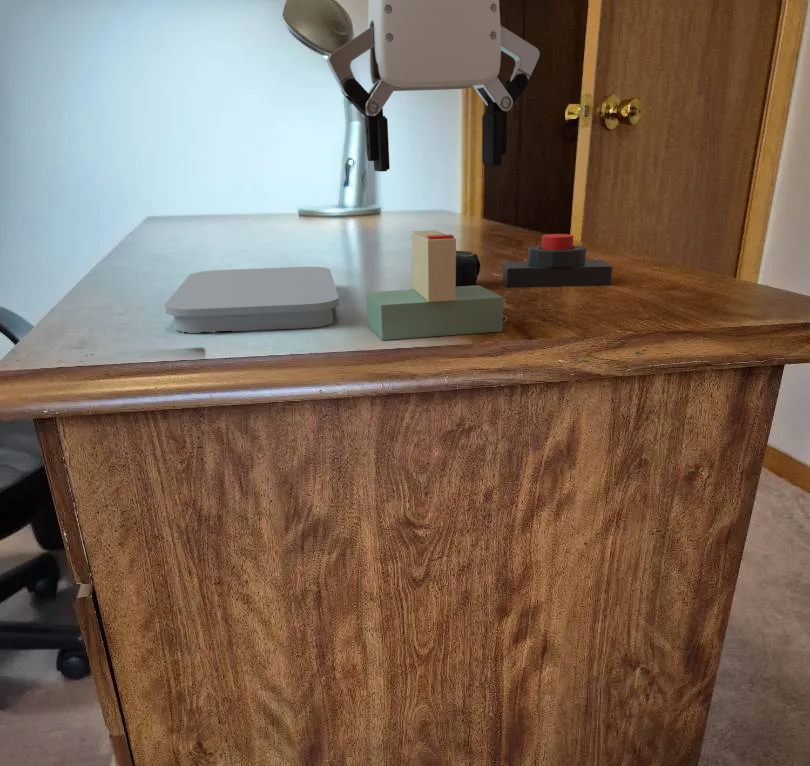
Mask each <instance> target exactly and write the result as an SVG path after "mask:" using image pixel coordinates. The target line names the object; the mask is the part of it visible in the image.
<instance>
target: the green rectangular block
mask: <svg viewBox="0 0 810 766" xmlns="http://www.w3.org/2000/svg"><path fill="white" fill-rule="evenodd" d="M365 301H366V303H365V304H366V322H367V326H368V327H369V328H370V329H371V330H372V331H373V333H375V334H376V336H378V337H379V339H380V340H381V341H390V340H391V341H393V340H403V339H405V340H406V339H417V338H418V339H419V338H432V337H446V336H447V337H448V336H461V335H473V334H487V333H498V332H499V333H501V332H503V323H504V321H503V320H504V296H502V295H499V294H497V293H496V292H494V291H491V290H490V289H487V288H485V287H483V286H482V285H478V284H477V285H459V286H456V300H455V301H438V302H428V301H427V300H426V299H425V298H423V297H422V296H421V295H420V294H419V293H418V292H417V291H415V290H414V289H413V288H412V289H411V288H410V289H397V290H395V289H394V290H381V291H366V292H365Z"/></svg>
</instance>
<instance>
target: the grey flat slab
mask: <svg viewBox="0 0 810 766" xmlns="http://www.w3.org/2000/svg"><path fill="white" fill-rule="evenodd" d="M338 306H340V296H339V293H338V291H337V287H336V284H335V281H334V278H333V274H332V270H331V268H328V267H323V266H291V267H287V266H286V267H268V268H267V267H265V268H264V267H261V268H240V269H239V268H238V269H215V270H214V269H213V270H204V271H196V272H192V273H190V274H189V275H188V276H187V277H186V279H184V280H183V282H182V283H181V284H180V286H179V287H178V288H177V289H176V290H175V292H174V293H173V294H172V295H171V296H170V297H169V299H168V300H167V301H166V302H165V304H164V309H165V313H166V314H167V315H169V316H173V318H174V319H173V320H174V326H175V331H177V330H178V331H177V332H179V331H181V332H180V333H184V332H187V333H186V334H202V333H201V332H210V333H214V332H213V331H232V332H251V331H272V330H293V329H313V328H320V327H326V326H329V325H331V324H333V323H334V314H333V313H334V312H333V309H334V308H336V307H338Z"/></svg>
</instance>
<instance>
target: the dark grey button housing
mask: <svg viewBox="0 0 810 766" xmlns="http://www.w3.org/2000/svg"><path fill="white" fill-rule="evenodd" d="M527 251H528V254H527V255H528V256H527V260H517V261H514V260H512V261H511V260H509V261H503V264H502V265H503V266H502V281H503V284H504V285H505V287H506V288H551V287H552V288H554V287H555V288H557V287H559V288H561V287H610V286H612V285H611V283H612V274H613V273H612V272H613V266H612V265H611V264H609V263H608V262H606V261H605V260H603V259H586V256H587V255H586V254H587V248H586V247H585V246H582V245H577V244H573V249H567V250H545V249H542V244H541V245H533V246H530V247H528V250H527Z"/></svg>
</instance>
